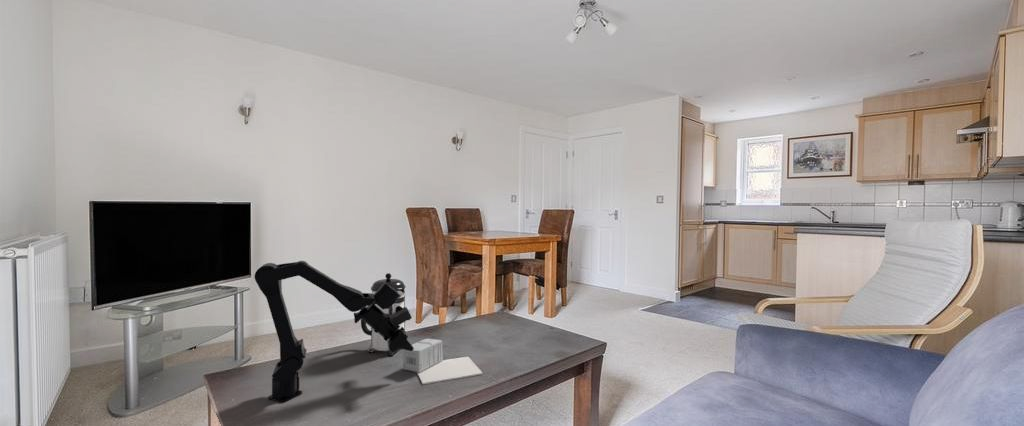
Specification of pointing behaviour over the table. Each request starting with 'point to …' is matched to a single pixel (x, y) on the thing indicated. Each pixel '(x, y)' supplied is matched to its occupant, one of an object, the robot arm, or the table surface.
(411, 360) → the supplement box
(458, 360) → the mat
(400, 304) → the coffee press
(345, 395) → the table surface
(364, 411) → the table surface
